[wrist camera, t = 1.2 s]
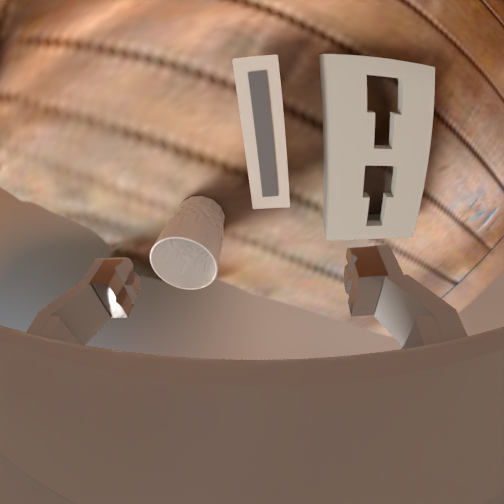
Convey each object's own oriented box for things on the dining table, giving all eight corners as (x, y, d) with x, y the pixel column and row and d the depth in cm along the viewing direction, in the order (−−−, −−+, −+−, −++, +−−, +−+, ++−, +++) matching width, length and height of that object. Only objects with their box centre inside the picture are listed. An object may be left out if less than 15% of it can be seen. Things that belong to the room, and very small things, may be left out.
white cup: (225, 189, 36) (210, 235, 28) (232, 238, 41) (222, 290, 33) (168, 193, 36) (140, 238, 29) (180, 240, 41) (161, 289, 34)
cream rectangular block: (239, 58, 25) (231, 58, 20) (276, 55, 24) (277, 54, 20) (255, 185, 35) (252, 209, 30) (287, 183, 34) (289, 207, 30)
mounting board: (318, 54, 24) (325, 53, 21) (417, 63, 22) (434, 67, 19) (322, 221, 38) (327, 240, 34) (402, 219, 36) (412, 237, 33)
